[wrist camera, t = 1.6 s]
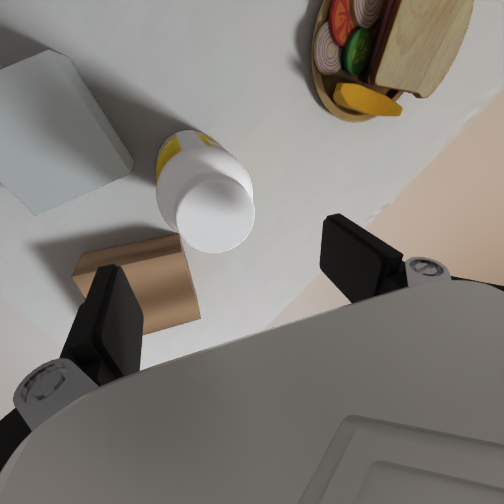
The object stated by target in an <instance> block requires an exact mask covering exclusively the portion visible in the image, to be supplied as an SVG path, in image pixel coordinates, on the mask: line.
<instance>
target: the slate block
mask: <svg viewBox="0 0 504 504" xmlns="http://www.w3.org/2000/svg"><path fill="white" fill-rule="evenodd" d="M134 163H135V162H134V160H133V158H132V157H131V155H130V154H129V152H128V150H127V149H126V147H125V146H124V144H123V143H122V141H121V139H120V138H119V136H118V135H117V133H116V131H115V130H114V128H113V127H112V125H111V124H110V122H109V120H108V119H107V117H106V116H105V114H104V113H103V111H102V109H101V108H100V106H99V105H98V103H97V101H96V100H95V98H94V97H93V95H92V94H91V92H90V90H89V89H88V87H87V86H86V84H85V83H84V81H83V79H82V78H81V76H80V75H79V73H78V71H77V70H76V68H75V67H74V65H73V64H72V62H71V60H70V59H69V57H67V56H64V55H62V54H59V53H56V52H54V51H51V50H46V51H44V52H41V53H39V54H36V55H34V56H32V57H29V58H27V59H24V60H22V61H19V62H17V63H15V64H12V65H10V66H7V67H5V68H2V69H0V183H1V184H2V185H3V186H5V187H6V188H7V189H8V190H9V191H10V192H11V193H12V194H13V195H14V196H15V197H16V198H17V199H18V200H19V201H20V202H21V203H22V204H23V205H24V206H25V207H26V208H27V209H28V210H29V211H30V212H31V213H32V214H33V215H34V216H37V215H39V214H41V213H43V212H46V211H48V210H50V209H52V208H55V207H57V206H59V205H61V204H64V203H66V202H68V201H70V200H72V199H75V198H77V197H79V196H81V195H84V194H86V193H88V192H90V191H92V190H95V189H97V188H99V187H101V186H104V185H106V184H108V183H110V182H112V181H115V180H117V179H119V178H121V177H124V176H126V175H128V174H130V173H131V171H132V168H133V165H134Z"/></svg>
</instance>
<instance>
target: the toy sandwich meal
mask: <svg viewBox="0 0 504 504" xmlns="http://www.w3.org/2000/svg"><path fill="white" fill-rule="evenodd" d="M472 9H473V0H323V3H322V5H321V8H320V10H319V14H318V17H317V20H316V24H315V29H314V34H313V40H312V53H311V61H312V73H313V79H314V83H315V86H316V90H317V92H318V95H319V97H320V99H321V101H322V102H323V104H324V105H325V107H326V108H327V109H328V110H329V111H330V112H331V113H332V114H333V115H334V116H336V117H337V118H339V119H341V120H344V121H348V122H363V121H367V120H370V119H372V118H375V117H377V116H400V114H401V113H402V109H403V108H402V107H401V106H400V105H398V104H397V103H396V101H397V100H398V99H399V97H400V96H401V95H402V94H403V92H404V91H405V92H408V93H412V94H413V95H414V96H415V97H416V98H427V97H428V96H430V95H431V94H432V93H433V92H434V91H435V89H436V88H437V87H438V86H439V84H440V83H441V82H442V80H443V79H444V77H445V76H446V74H447V72H448V71H449V69H450V67H451V65H452V63H453V61H454V60H455V58H456V56H457V53H458V51H459V49H460V46H461V44H462V41H463V39H464V36H465V34H466V31H467V28H468V25H469V22H470V18H471V14H472Z"/></svg>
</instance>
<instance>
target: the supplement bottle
mask: <svg viewBox="0 0 504 504" xmlns="http://www.w3.org/2000/svg"><path fill="white" fill-rule="evenodd" d="M156 197H157V204H158V207H159V210H160V212H161V215H162V216H163V218H164V220H165V221H166V222H167V224H168V225H169V226H170V227H171V228H172V229H173V230H175V231H176V232H177V233H179V234H180V236H181V238H182V239H183V240H184V241H185V242H186V243H187V244H188V245H189V246H191V247H192V248H194V249H196V250H198V251H201V252H206V253H220V252H225V251H228V250H230V249H232V248H234V247H236V246H237V245H239V244H240V243H241V242H242V241H243V240H244V239H245V238H246V237H247V236H248V234H249V233H250V231H251V229H252V227H253V224H254V219H255V209H254V204H253V201H252V200H253V189H252V183H251V180H250V177H249V175H248V173H247V171H246V169H245V168H244V166H243V165H242V164H241V163H240V162H239V161H238V160H237V159H236V158H235V157H234V156H233V155H232V154H230V153H229V152H228V151H227V150H226V149H224V148H223V147H222V146H221V145H220V144H219V143H218V142H216V141H215V140H214V139H213V138H211V137H210V136H208V135H206V134H204V133H202V132H199V131H194V130H185V131H180V132H177V133H175V134H173V135H172V136H170V137H169V138H168V139H167V140H166V141H165V142H164V143H163V144H162V146H161V148H160V150H159V152H158V156H157V163H156Z"/></svg>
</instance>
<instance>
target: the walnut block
mask: <svg viewBox="0 0 504 504" xmlns="http://www.w3.org/2000/svg"><path fill="white" fill-rule="evenodd" d="M109 264H115V265H116V266H121V267H122V269H123V271H124V273H125V275H126V277H127V279H128V282H129V284H130V286H131V288H132V290H133V292H134V294H135V297H136V299H137V301H138V303H139V305H140V307H141V310H142V312H143V316H144V323H143V335H146V334H149V333H153V332H156V331H160V330H163V329H167V328H170V327H174V326H177V325H181V324H184V323H188V322H191V321H195V320H198V319H201V317H200V311H199V306H198V300H197V295H196V292H195V288H194V285H193V281H192V278H191V274H190V270H189V267H188V263H187V260H186V256H185V253H184V249H183V245H182V242H181V238H180V235H179V234H174V235H169V236H165V237H160V238H155V239H150V240H146V241H141V242H136V243H131V244H127V245H122V246H117V247H112V248H108V249H103V250H98V251H93V252H89V253H84V254H82V256H81V258H80V260H79V262H78V264H77V266H76V268H75V270H74V272H73V274H72V276H71V277H72V279H73V280H74V282H75V283H76V285H77V287H78V288H79V290H80V291H81V293H82V294H83V296H84V298H85V299H86V297H87V294H88V292H89V289H90V287H91V284H92V281H93V279H94V276H95V273H96V271H97V268H98V267H100V266H105V265H109Z"/></svg>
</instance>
